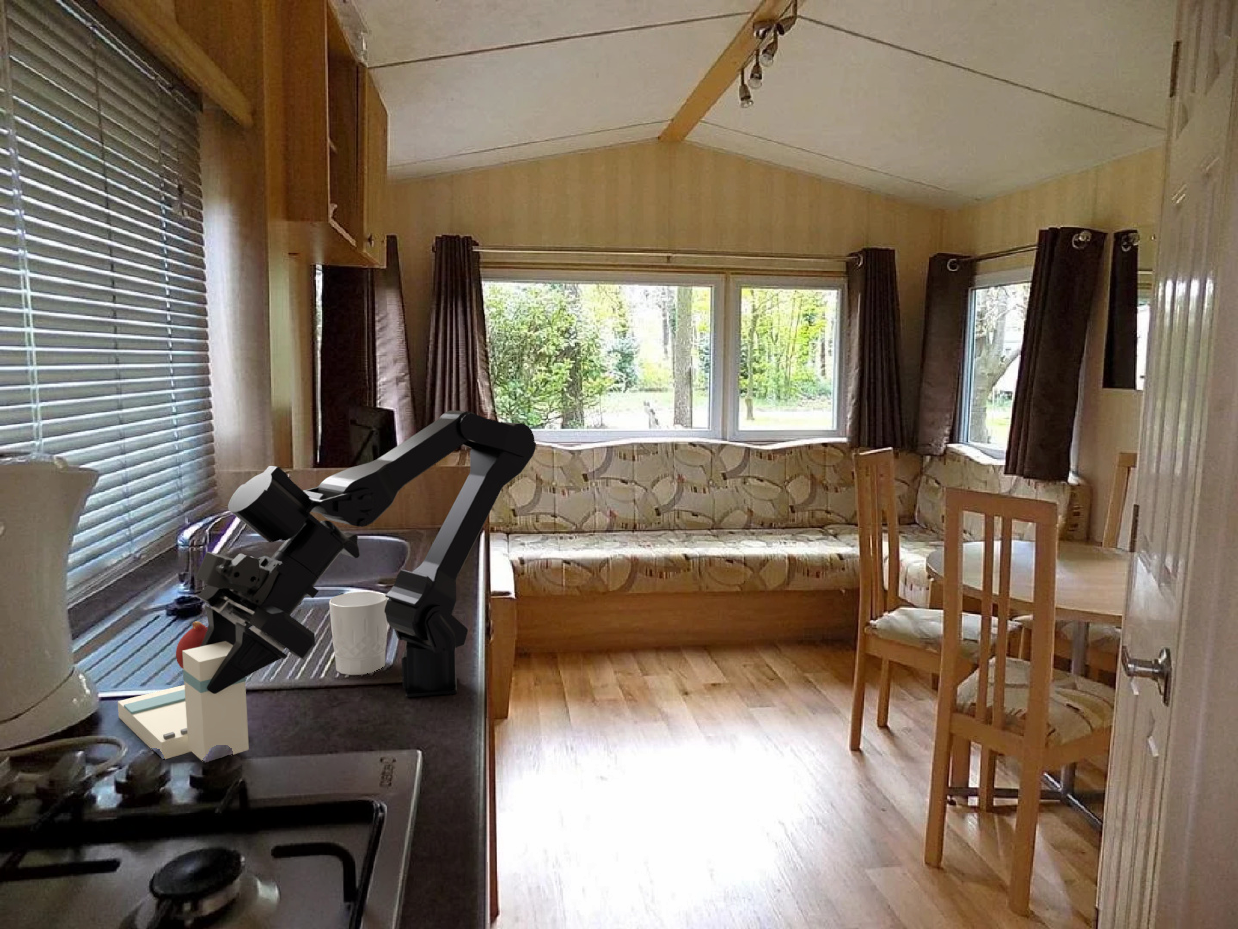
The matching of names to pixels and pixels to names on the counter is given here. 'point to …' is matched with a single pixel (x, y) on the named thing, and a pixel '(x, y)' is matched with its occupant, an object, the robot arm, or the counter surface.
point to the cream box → (213, 703)
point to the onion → (191, 640)
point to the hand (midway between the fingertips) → (200, 684)
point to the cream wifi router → (158, 720)
